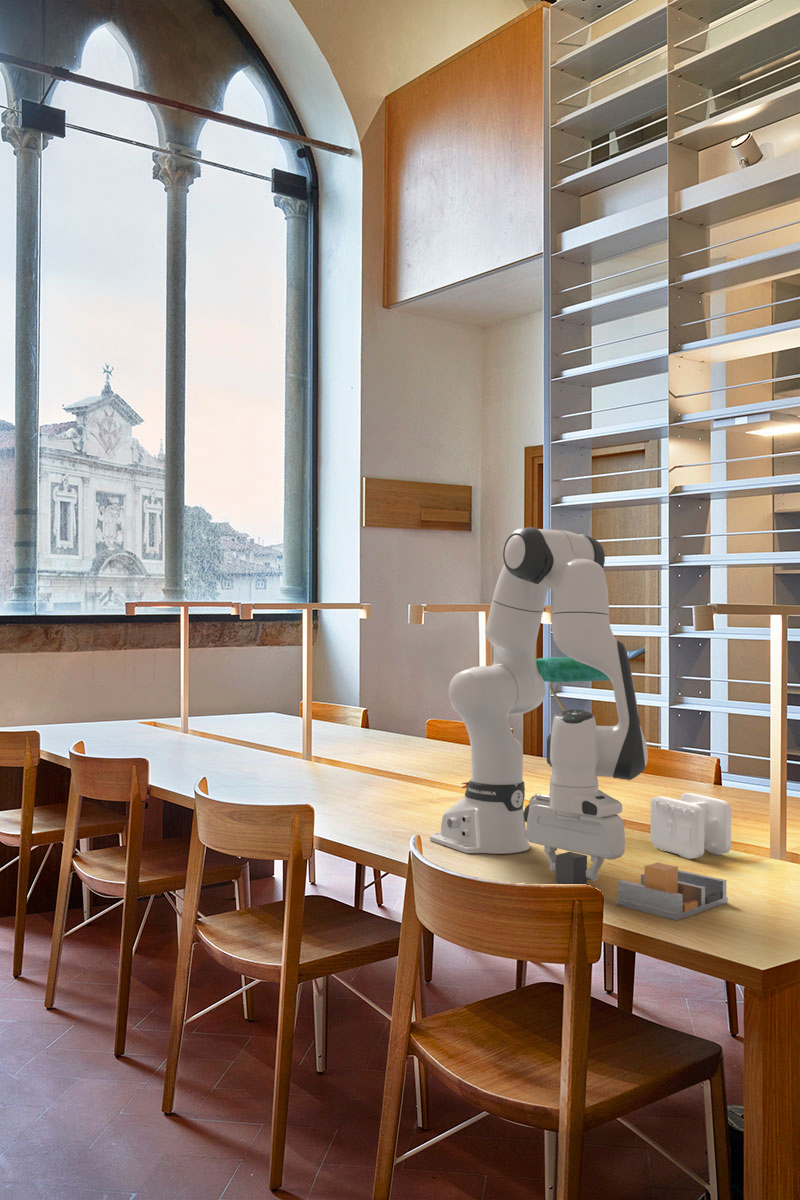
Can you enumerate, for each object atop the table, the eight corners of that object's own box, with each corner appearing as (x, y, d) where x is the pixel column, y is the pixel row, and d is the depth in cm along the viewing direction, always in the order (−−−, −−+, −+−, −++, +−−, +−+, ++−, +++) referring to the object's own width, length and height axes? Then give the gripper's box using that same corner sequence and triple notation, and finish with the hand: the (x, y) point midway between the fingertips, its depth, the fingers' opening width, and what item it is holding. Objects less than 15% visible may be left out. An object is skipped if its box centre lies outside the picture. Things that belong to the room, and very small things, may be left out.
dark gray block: (555, 887, 187) (556, 854, 188) (569, 883, 190) (569, 851, 190) (573, 892, 185) (573, 858, 185) (586, 888, 187) (587, 855, 187)
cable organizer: (734, 858, 212) (735, 802, 212) (695, 863, 208) (696, 806, 208) (685, 843, 226) (685, 791, 226) (647, 848, 221) (647, 794, 221)
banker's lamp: (561, 834, 233) (563, 659, 234) (498, 817, 252) (499, 655, 253) (643, 823, 248) (644, 658, 248) (577, 807, 267) (578, 654, 268)
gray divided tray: (616, 904, 177) (616, 881, 177) (667, 888, 187) (667, 866, 187) (677, 920, 168) (677, 896, 168) (727, 902, 179) (727, 879, 179)
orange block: (644, 901, 175) (644, 866, 175) (657, 896, 178) (657, 862, 178) (664, 906, 172) (664, 870, 173) (677, 901, 175) (677, 866, 175)
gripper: (519, 794, 193) (518, 867, 193) (609, 809, 178) (609, 889, 178) (540, 790, 197) (539, 862, 197) (630, 805, 183) (629, 882, 182)
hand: (573, 875), depth 187 cm, fingers open, 7 cm apart
